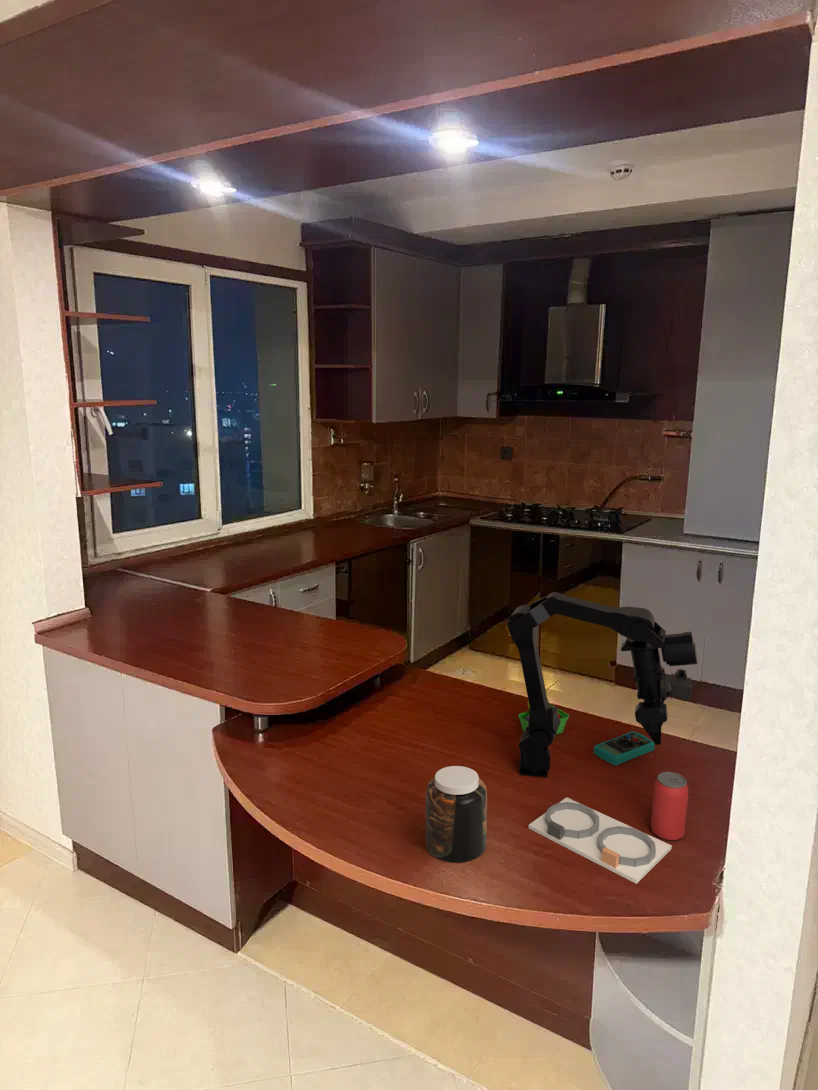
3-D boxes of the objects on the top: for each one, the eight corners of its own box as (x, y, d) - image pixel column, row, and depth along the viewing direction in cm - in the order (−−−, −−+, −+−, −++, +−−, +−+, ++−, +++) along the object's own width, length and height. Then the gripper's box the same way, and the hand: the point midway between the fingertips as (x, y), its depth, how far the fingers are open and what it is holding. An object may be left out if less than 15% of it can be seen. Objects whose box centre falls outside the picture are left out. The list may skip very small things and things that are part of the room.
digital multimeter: (656, 751, 184) (657, 740, 183) (614, 768, 176) (615, 756, 175) (633, 739, 190) (633, 728, 189) (591, 755, 182) (592, 744, 181)
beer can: (686, 843, 147) (692, 789, 144) (652, 839, 148) (656, 786, 146) (681, 824, 153) (686, 772, 151) (648, 820, 155) (652, 768, 152)
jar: (461, 872, 139) (462, 800, 136) (414, 846, 146) (414, 778, 143) (497, 842, 148) (499, 774, 144) (450, 819, 155) (451, 754, 152)
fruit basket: (535, 745, 186) (536, 703, 183) (513, 730, 193) (514, 690, 191) (569, 733, 191) (571, 693, 189) (547, 720, 199) (548, 681, 196)
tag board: (528, 828, 152) (529, 814, 151) (566, 800, 162) (567, 787, 161) (636, 883, 136) (637, 868, 135) (671, 849, 146) (672, 834, 145)
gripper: (686, 681, 148) (698, 753, 150) (687, 649, 165) (698, 714, 167) (629, 685, 152) (641, 755, 155) (635, 653, 169) (647, 717, 172)
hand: (659, 734), depth 162 cm, fingers open, 9 cm apart
